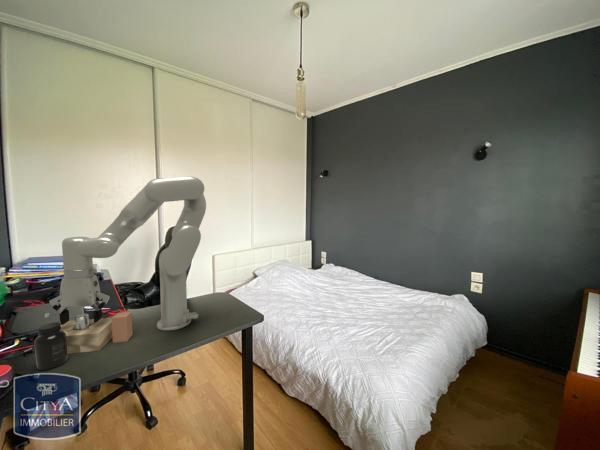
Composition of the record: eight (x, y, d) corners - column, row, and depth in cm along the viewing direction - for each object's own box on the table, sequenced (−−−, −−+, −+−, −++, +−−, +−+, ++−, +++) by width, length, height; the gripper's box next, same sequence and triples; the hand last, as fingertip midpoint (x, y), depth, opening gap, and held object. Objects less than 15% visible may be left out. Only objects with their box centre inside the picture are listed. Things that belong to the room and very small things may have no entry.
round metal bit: (92, 340, 90) (90, 313, 89) (86, 345, 86) (84, 317, 86) (80, 341, 89) (79, 313, 88) (74, 346, 86) (72, 318, 85)
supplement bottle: (68, 354, 81) (66, 318, 81) (67, 364, 76) (65, 326, 75) (37, 362, 77) (35, 324, 76) (34, 374, 72) (31, 333, 71)
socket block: (117, 332, 95) (116, 317, 95) (99, 350, 84) (98, 333, 83) (67, 336, 92) (66, 320, 91) (41, 356, 80) (40, 338, 80)
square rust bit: (132, 334, 94) (131, 311, 93) (127, 341, 90) (126, 316, 89) (119, 336, 93) (117, 312, 92) (112, 342, 89) (111, 317, 88)
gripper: (113, 269, 91) (115, 315, 93) (56, 271, 88) (59, 319, 89) (101, 275, 84) (104, 324, 85) (39, 277, 80) (43, 329, 82)
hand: (81, 321), depth 87 cm, fingers open, 9 cm apart
